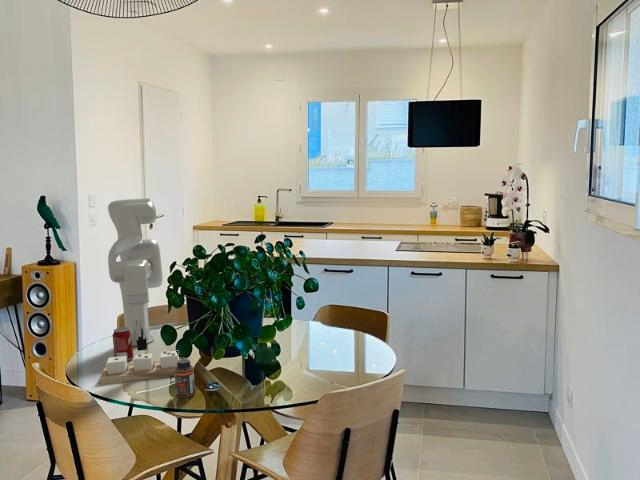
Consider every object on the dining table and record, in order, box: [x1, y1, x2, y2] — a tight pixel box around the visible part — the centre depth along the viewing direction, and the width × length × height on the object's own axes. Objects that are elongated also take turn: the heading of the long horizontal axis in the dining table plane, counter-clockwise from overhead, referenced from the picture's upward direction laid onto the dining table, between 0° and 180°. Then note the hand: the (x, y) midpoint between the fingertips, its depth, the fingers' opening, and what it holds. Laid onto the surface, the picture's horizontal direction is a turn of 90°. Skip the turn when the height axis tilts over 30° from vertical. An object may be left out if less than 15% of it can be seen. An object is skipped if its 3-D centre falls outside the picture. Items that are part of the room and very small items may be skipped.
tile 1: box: [105, 356, 128, 374], centre depth 215 cm, size 6×6×4 cm
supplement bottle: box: [174, 358, 196, 399], centre depth 194 cm, size 6×6×11 cm
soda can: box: [112, 326, 134, 362], centre depth 232 cm, size 7×7×12 cm
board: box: [99, 357, 181, 385], centre depth 217 cm, size 13×28×2 cm, turn 101°
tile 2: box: [132, 352, 154, 372], centre depth 216 cm, size 6×6×4 cm
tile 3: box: [159, 350, 180, 369], centre depth 218 cm, size 6×6×4 cm
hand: (142, 349), depth 216 cm, fingers closed
